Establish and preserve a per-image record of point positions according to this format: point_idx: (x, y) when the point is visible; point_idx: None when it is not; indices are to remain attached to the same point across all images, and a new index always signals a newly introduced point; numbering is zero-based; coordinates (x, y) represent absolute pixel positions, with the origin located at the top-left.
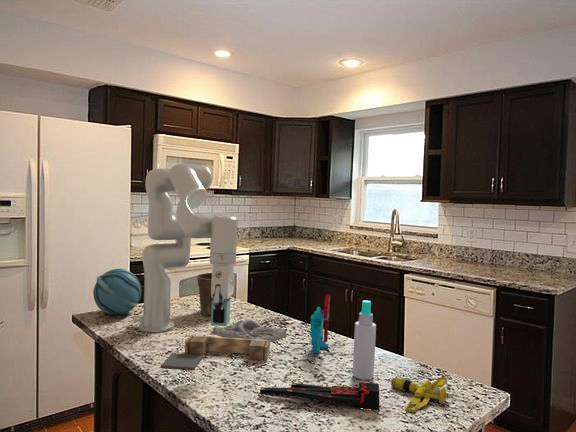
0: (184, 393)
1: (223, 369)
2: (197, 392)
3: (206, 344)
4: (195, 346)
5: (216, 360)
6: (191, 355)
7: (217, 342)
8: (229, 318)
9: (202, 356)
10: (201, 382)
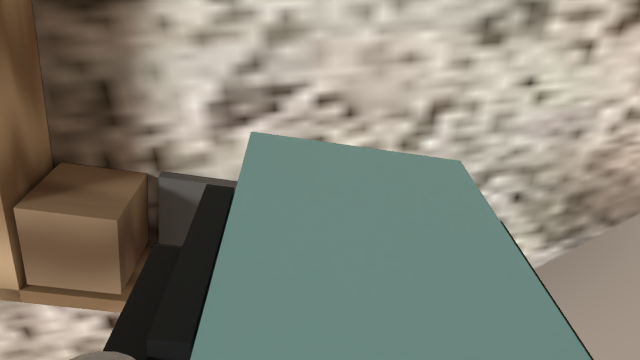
0: (614, 201)
1: (340, 41)
2: (621, 149)
3: (54, 188)
4: (130, 245)
5: (198, 94)
6: (174, 233)
7: (10, 125)
8: (246, 153)
9: (177, 179)
10: (509, 144)
